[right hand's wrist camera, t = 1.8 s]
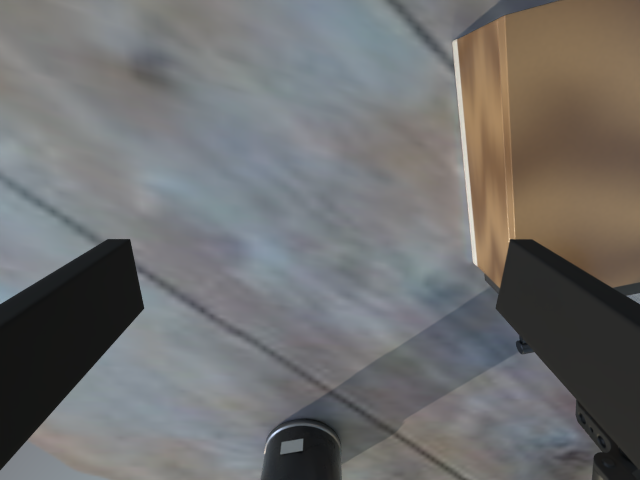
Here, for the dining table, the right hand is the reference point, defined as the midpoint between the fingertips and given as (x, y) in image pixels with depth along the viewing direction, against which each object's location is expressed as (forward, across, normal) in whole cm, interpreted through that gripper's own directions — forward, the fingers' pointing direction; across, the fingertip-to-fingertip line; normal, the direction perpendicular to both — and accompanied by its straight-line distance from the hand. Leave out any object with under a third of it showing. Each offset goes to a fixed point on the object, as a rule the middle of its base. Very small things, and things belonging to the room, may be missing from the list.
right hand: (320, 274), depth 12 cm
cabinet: (+21, +18, +2) cm, 28 cm away
